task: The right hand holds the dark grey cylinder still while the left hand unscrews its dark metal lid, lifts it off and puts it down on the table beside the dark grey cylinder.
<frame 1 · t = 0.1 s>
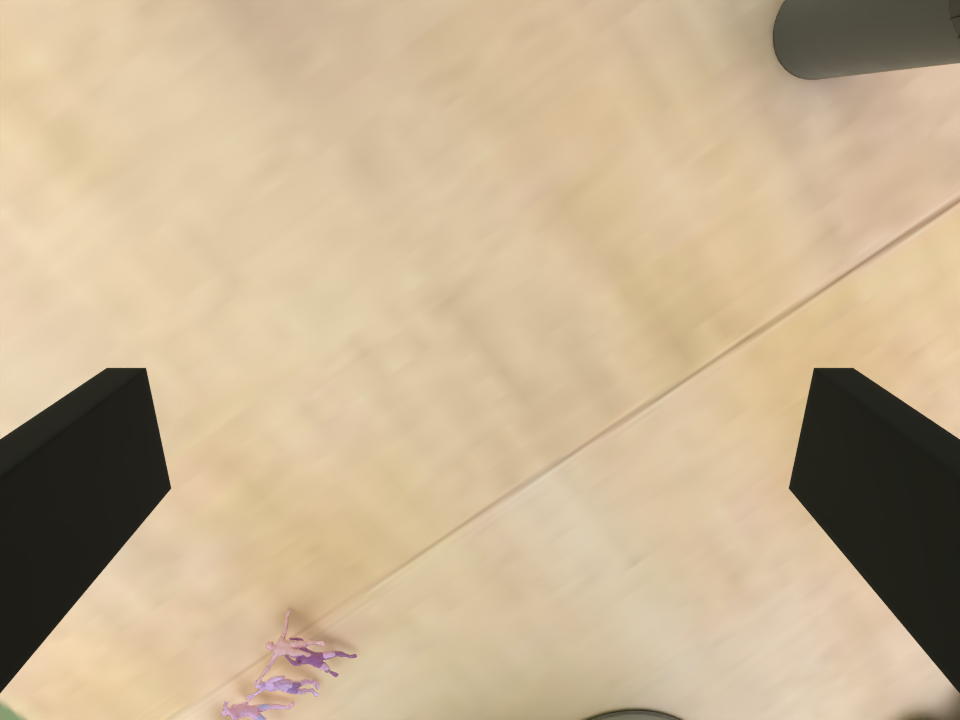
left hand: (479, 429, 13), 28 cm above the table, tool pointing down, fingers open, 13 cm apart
people figure: (281, 666, 52), on the table
dark grey cylinder: (820, 28, 35), on the table
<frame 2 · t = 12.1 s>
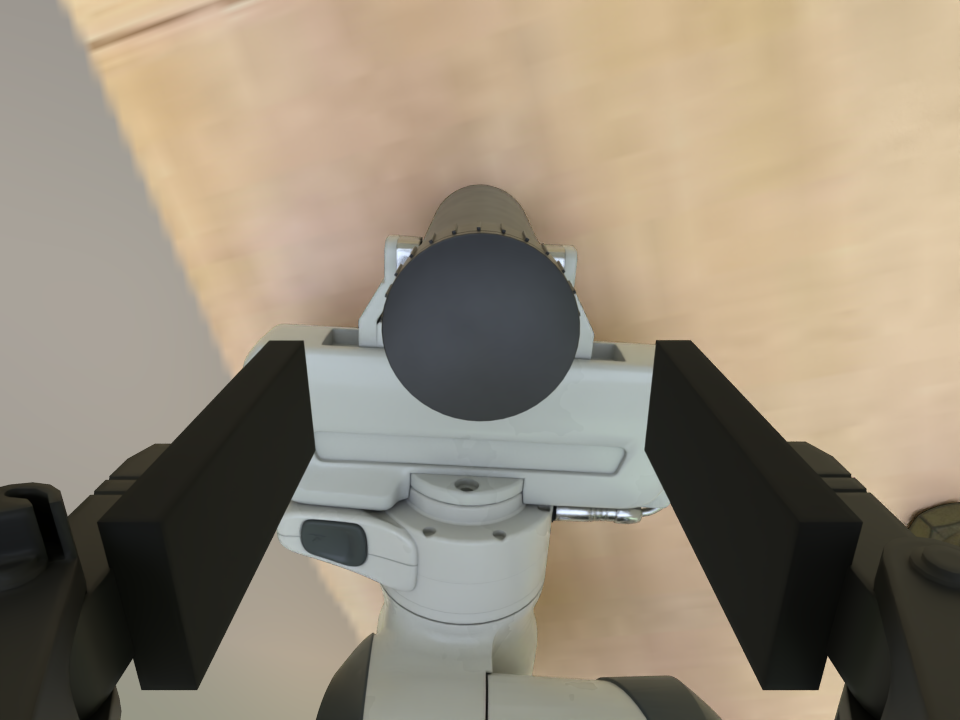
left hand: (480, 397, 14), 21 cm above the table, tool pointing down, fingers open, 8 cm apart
dark grey cylinder: (480, 235, 33), on the table, touching right hand
lid: (480, 329, 18), point 16 cm above the table, screwed on, not yet turned
grenade: (956, 534, 40), on the table
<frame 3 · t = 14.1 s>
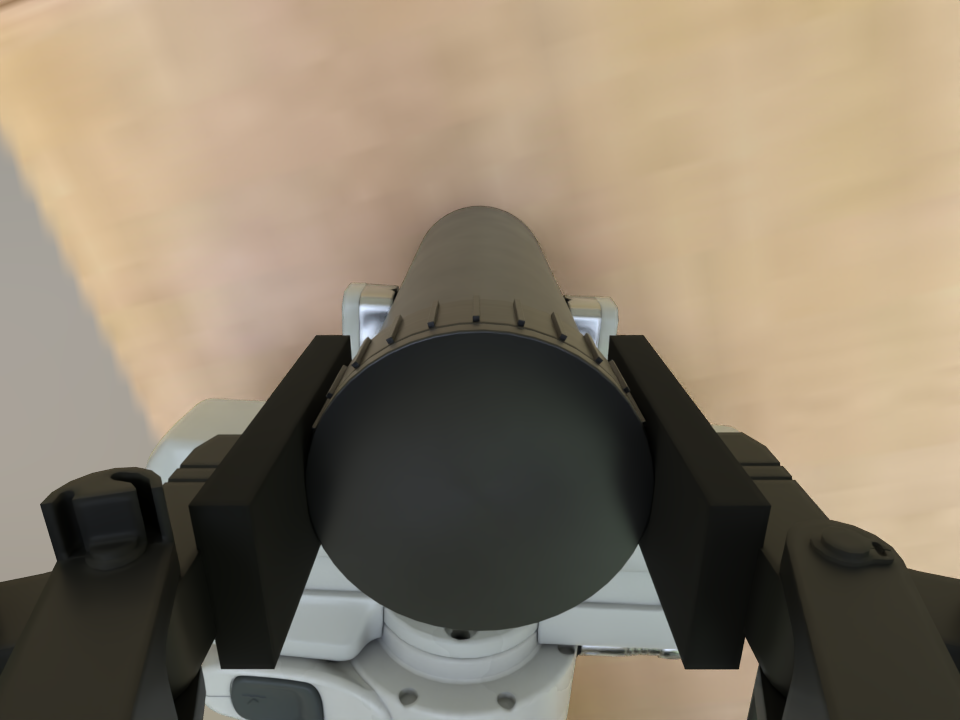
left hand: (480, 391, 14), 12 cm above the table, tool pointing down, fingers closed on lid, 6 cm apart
dark grey cylinder: (479, 271, 25), on the table, touching right hand
lid: (479, 484, 11), point 16 cm above the table, screwed on, not yet turned, touching left hand
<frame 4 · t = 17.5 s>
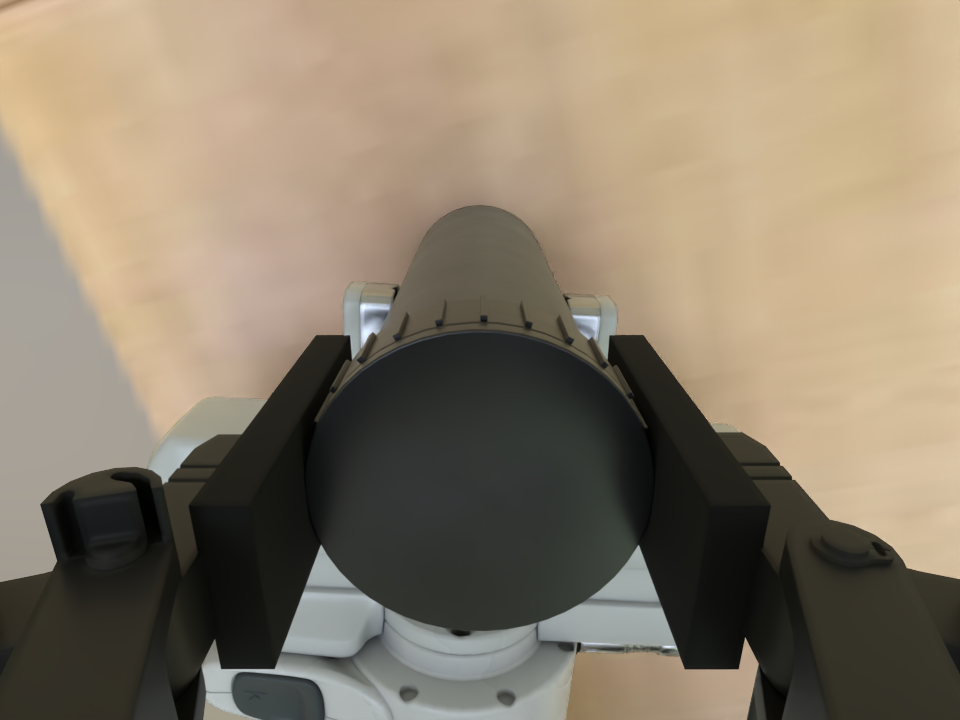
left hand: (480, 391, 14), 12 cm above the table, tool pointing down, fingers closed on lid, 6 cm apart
dark grey cylinder: (479, 270, 25), on the table, touching right hand
lid: (479, 484, 11), point 16 cm above the table, turned 108° so far, risen 0.1 cm, still on its thread, touching left hand
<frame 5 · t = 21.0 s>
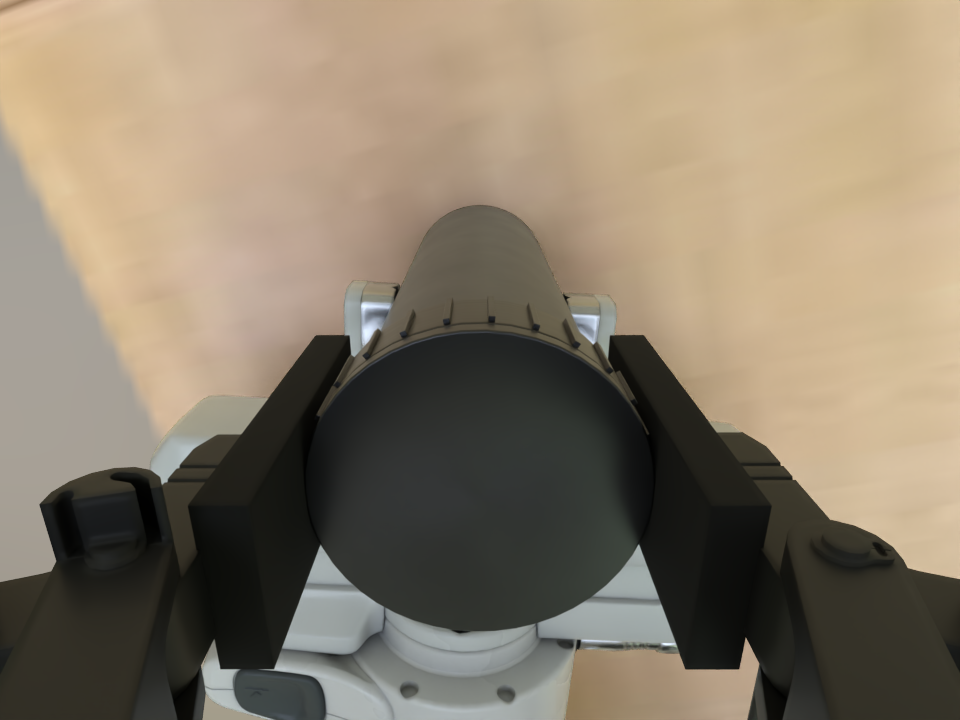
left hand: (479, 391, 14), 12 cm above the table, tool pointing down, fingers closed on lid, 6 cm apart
dark grey cylinder: (479, 270, 26), on the table, touching right hand
lid: (479, 485, 11), point 16 cm above the table, turned 217° so far, risen 0.3 cm, still on its thread, touching left hand
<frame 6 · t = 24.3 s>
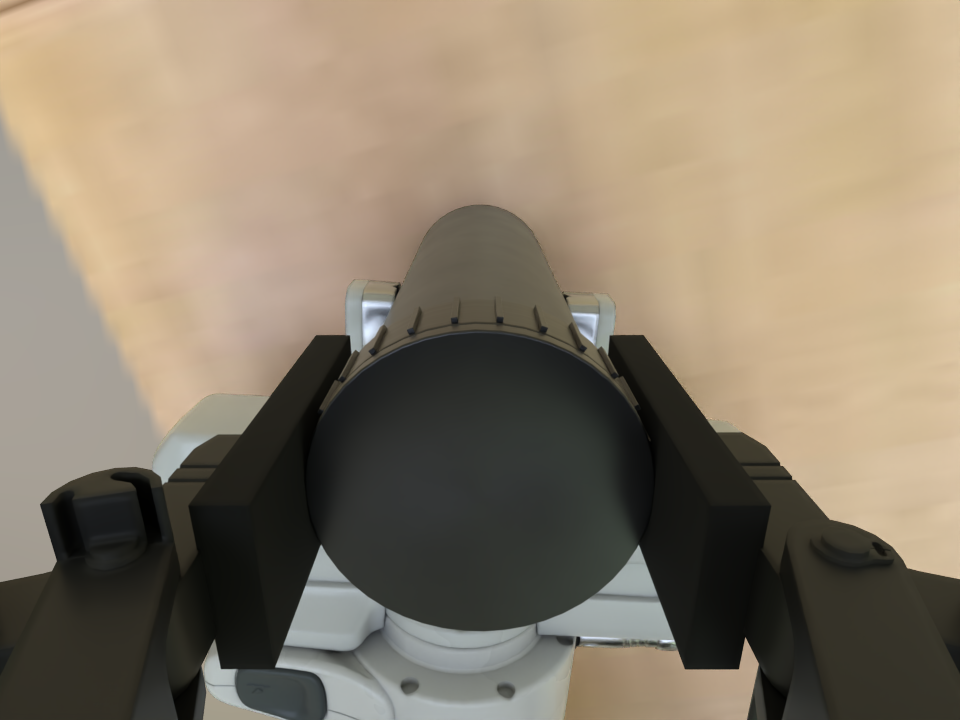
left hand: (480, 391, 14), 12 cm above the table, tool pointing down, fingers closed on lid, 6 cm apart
dark grey cylinder: (479, 269, 26), on the table, touching right hand
lid: (479, 485, 11), point 16 cm above the table, turned 325° so far, risen 0.4 cm, still on its thread, touching left hand
when the left hand's fingers open (0 cm above the table, at t = 31.0 s): lid drops 3 cm, point 1 cm above the table.
when the right hand's fingers open (7 cm above the table, at t = 31.8 s): dark grey cylinder stays where it is, on the table.
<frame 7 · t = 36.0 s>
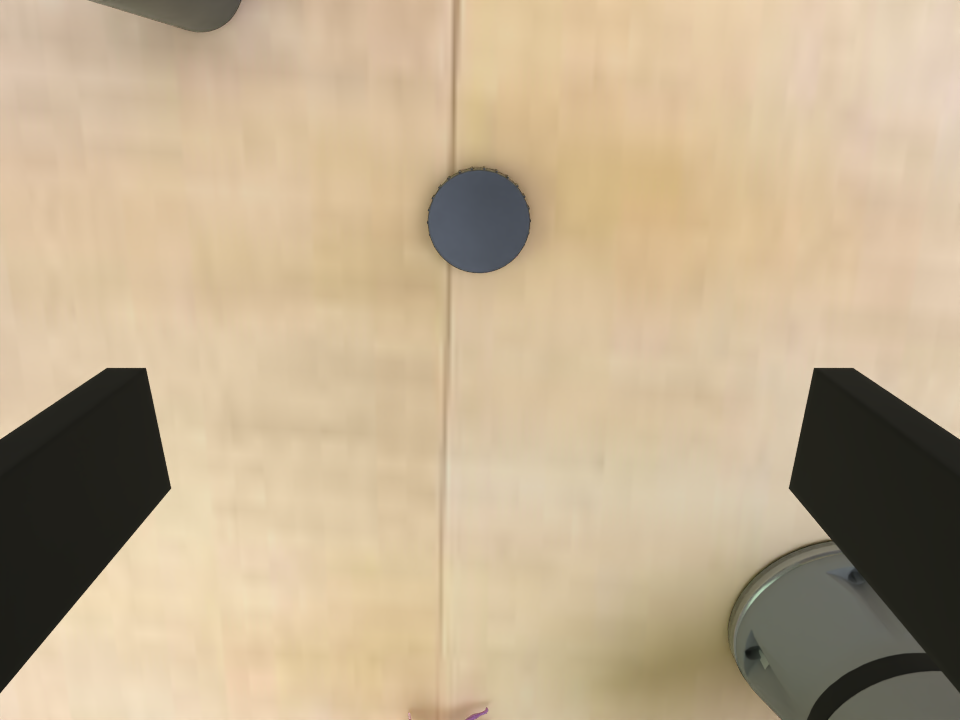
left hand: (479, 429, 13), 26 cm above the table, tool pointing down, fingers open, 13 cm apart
lid: (478, 222, 36), point 1 cm above the table, off its thread
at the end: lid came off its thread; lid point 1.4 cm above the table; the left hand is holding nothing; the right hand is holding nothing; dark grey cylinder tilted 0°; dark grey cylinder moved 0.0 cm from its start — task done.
